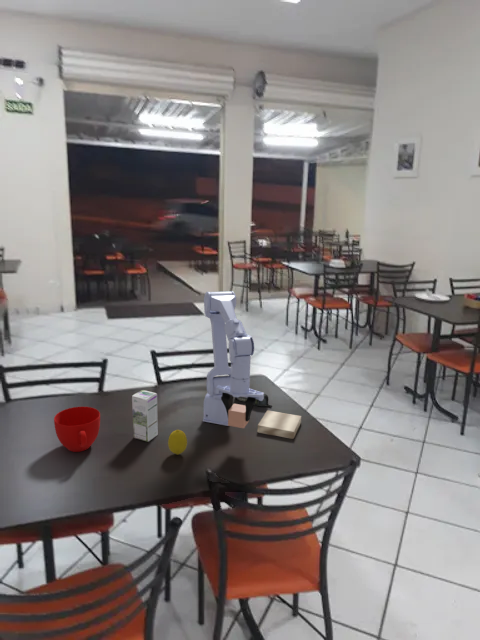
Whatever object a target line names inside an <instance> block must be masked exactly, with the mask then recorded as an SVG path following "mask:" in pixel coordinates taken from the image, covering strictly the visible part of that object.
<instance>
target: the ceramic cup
mask: <svg viewBox="0 0 480 640" xmlns="http://www.w3.org/2000/svg"><path fill="white" fill-rule="evenodd" d="M53 424H54V430H55V435H56V437H57V439H58V441H59V442H60V443H61V445H62V446H63V447H65V448H66V449H67V450H68V451H69V452H72V453H79V452H83V451H86V450H88V449H89V448H91V446H92V445H93V444H94V443H95V441H96V440H97V438H98V435H99V431H100V427H101V412H100V411H99V410H98V409H97V408H94V407H91V406H74V407H69V408H66V409H63V410H61V411H59V412H57V413H56V414H55V415H54V418H53Z"/></svg>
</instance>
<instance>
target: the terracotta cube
mask: <svg viewBox="0 0 480 640" xmlns="http://www.w3.org/2000/svg"><path fill="white" fill-rule="evenodd" d="M245 417H246V405H245V404H238V403H233V405H232V407H231V408H230V409H229V410H228V426H227V427H234V428H240V429H245V428H246V426H247V425H248V423H249V422H250V420H249V421H246V419H245Z"/></svg>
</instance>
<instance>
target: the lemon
mask: <svg viewBox="0 0 480 640" xmlns="http://www.w3.org/2000/svg"><path fill="white" fill-rule="evenodd" d="M167 445H168V446H167V447H168V449H169V452H171V453H173V454H175V455H181V454H183V453H184V452H185V451H186V449H187V446H188V438H187V435H186V433H185V432H184V431H182V430H181V429H176V430H173V431H172V432H171V433H170V434H169V436H168V440H167Z"/></svg>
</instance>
